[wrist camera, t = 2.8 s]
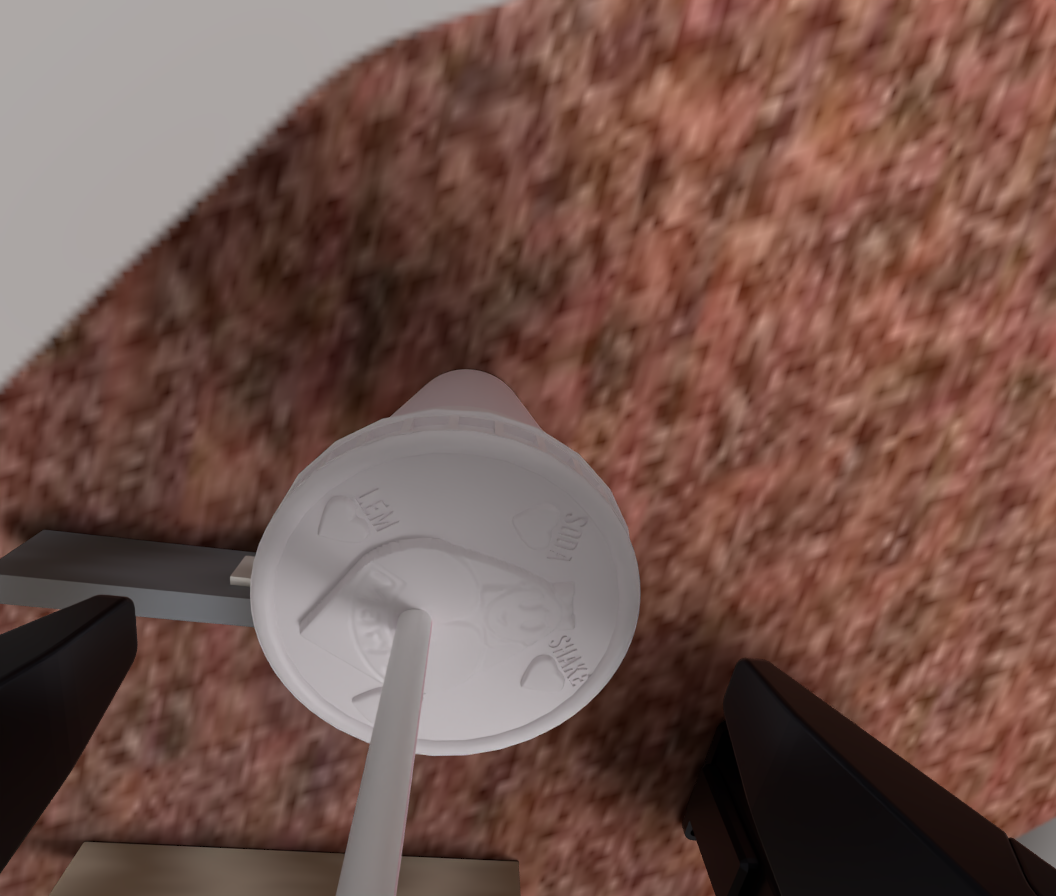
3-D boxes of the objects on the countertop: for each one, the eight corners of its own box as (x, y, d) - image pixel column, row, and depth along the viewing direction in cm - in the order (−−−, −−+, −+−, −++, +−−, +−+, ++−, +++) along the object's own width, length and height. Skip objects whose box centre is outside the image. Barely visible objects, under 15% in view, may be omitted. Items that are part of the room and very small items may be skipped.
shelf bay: (586, 580, 21) (616, 683, 16) (514, 879, 26) (520, 1021, 21) (42, 521, 18) (-109, 619, 14) (87, 861, 24) (-11, 1015, 19)
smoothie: (350, 330, 17) (-102, 659, 4) (565, 318, 17) (814, 585, 4) (380, 522, 19) (158, 1136, 6) (569, 508, 20) (739, 1064, 6)
